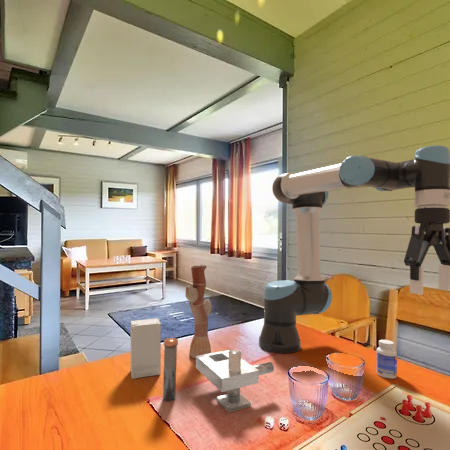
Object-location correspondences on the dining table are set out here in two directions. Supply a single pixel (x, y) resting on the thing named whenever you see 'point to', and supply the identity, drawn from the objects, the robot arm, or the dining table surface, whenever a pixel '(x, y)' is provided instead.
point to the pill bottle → (386, 359)
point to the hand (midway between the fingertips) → (431, 291)
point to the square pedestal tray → (231, 376)
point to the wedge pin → (170, 369)
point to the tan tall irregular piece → (199, 312)
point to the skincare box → (145, 348)
